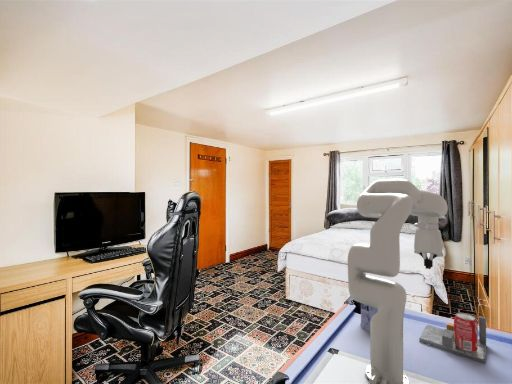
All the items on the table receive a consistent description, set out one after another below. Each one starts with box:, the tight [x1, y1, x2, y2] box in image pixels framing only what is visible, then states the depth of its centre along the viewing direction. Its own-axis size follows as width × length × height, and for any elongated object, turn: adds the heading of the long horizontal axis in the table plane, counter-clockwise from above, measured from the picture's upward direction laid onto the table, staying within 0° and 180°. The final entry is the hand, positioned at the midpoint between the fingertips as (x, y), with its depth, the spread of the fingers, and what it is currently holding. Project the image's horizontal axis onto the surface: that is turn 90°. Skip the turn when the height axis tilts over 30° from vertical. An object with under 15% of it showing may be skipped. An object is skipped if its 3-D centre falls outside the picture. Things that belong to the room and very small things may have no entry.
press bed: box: [418, 315, 487, 364], centre depth 104 cm, size 16×20×11 cm
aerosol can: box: [360, 303, 378, 332], centre depth 118 cm, size 8×8×20 cm
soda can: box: [453, 312, 479, 352], centre depth 99 cm, size 7×7×12 cm
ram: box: [442, 322, 454, 348], centre depth 105 cm, size 15×3×4 cm, turn 137°
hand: (428, 268), depth 116 cm, fingers closed
